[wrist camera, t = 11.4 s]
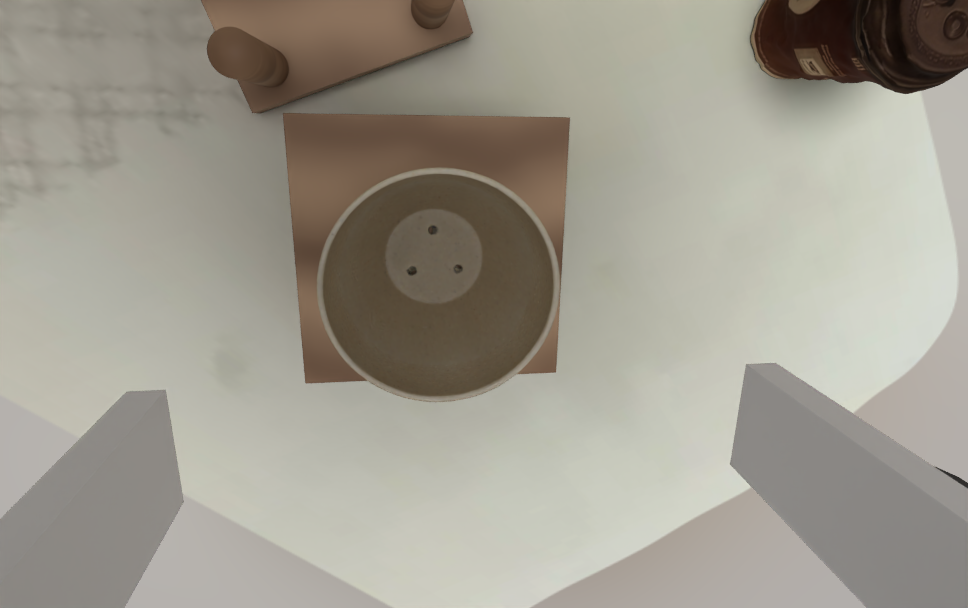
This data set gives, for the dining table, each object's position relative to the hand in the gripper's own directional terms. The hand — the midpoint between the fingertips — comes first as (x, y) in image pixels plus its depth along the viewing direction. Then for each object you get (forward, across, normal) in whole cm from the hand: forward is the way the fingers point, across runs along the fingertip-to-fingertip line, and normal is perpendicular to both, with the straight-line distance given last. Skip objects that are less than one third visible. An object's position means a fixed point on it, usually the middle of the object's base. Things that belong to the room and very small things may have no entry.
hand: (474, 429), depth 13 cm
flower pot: (+19, 0, 0) cm, 19 cm away
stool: (+28, 0, 0) cm, 29 cm away
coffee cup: (+29, +25, +13) cm, 40 cm away
